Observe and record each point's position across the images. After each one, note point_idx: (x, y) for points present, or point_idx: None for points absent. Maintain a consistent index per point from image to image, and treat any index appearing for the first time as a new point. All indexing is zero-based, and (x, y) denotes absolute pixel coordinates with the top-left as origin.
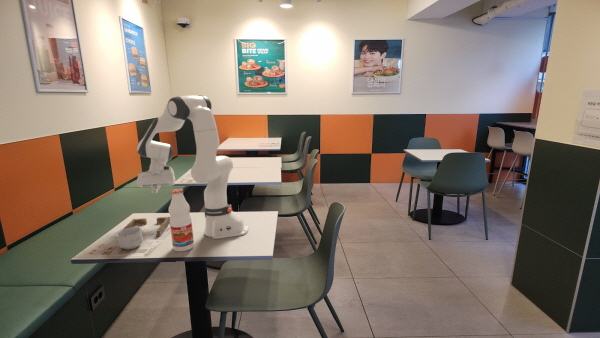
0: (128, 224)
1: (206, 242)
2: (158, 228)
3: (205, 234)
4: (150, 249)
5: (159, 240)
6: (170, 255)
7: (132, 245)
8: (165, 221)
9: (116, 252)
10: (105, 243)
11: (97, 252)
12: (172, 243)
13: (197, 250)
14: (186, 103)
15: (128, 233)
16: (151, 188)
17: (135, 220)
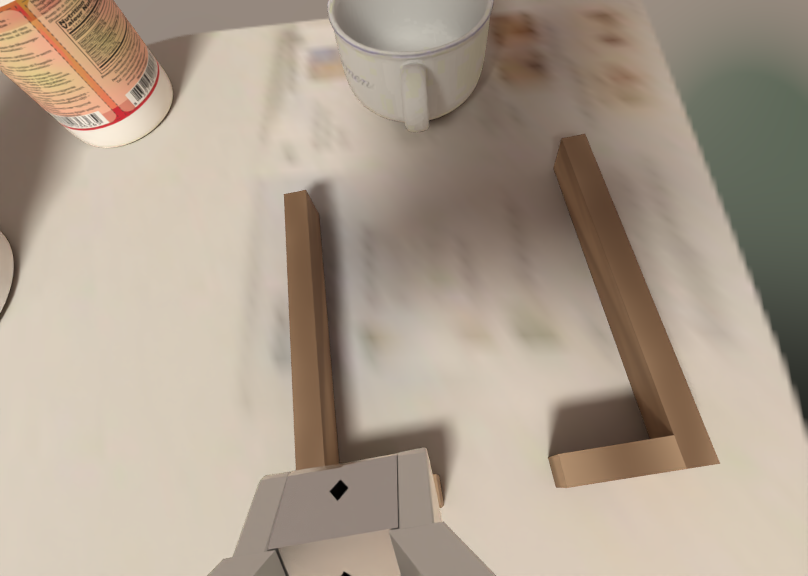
0: (644, 304)
1: (13, 165)
2: (308, 232)
3: (4, 240)
4: (292, 77)
5: (282, 167)
6: (176, 43)
7: (375, 32)
8: (302, 382)
9: None
10: (622, 108)
11: (573, 24)
12: (150, 51)
13: None
14: None
15: (454, 71)
16: (450, 538)
17: (666, 436)
